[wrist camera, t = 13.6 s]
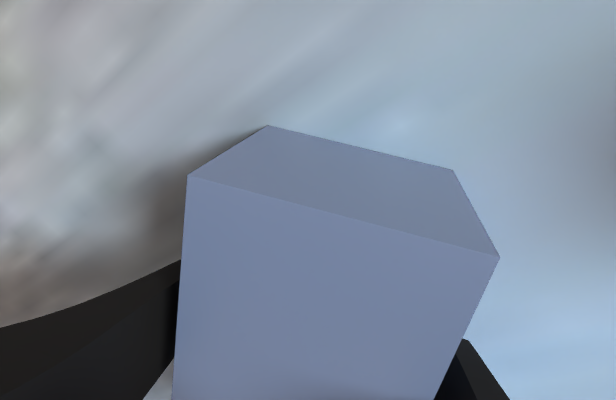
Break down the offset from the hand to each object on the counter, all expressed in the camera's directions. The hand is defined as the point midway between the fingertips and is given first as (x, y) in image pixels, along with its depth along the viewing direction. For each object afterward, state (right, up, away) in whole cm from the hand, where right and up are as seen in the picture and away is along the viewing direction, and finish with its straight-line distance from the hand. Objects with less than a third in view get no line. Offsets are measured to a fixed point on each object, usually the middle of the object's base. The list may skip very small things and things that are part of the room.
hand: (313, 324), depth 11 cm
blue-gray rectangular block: (+1, +1, +2) cm, 3 cm away
